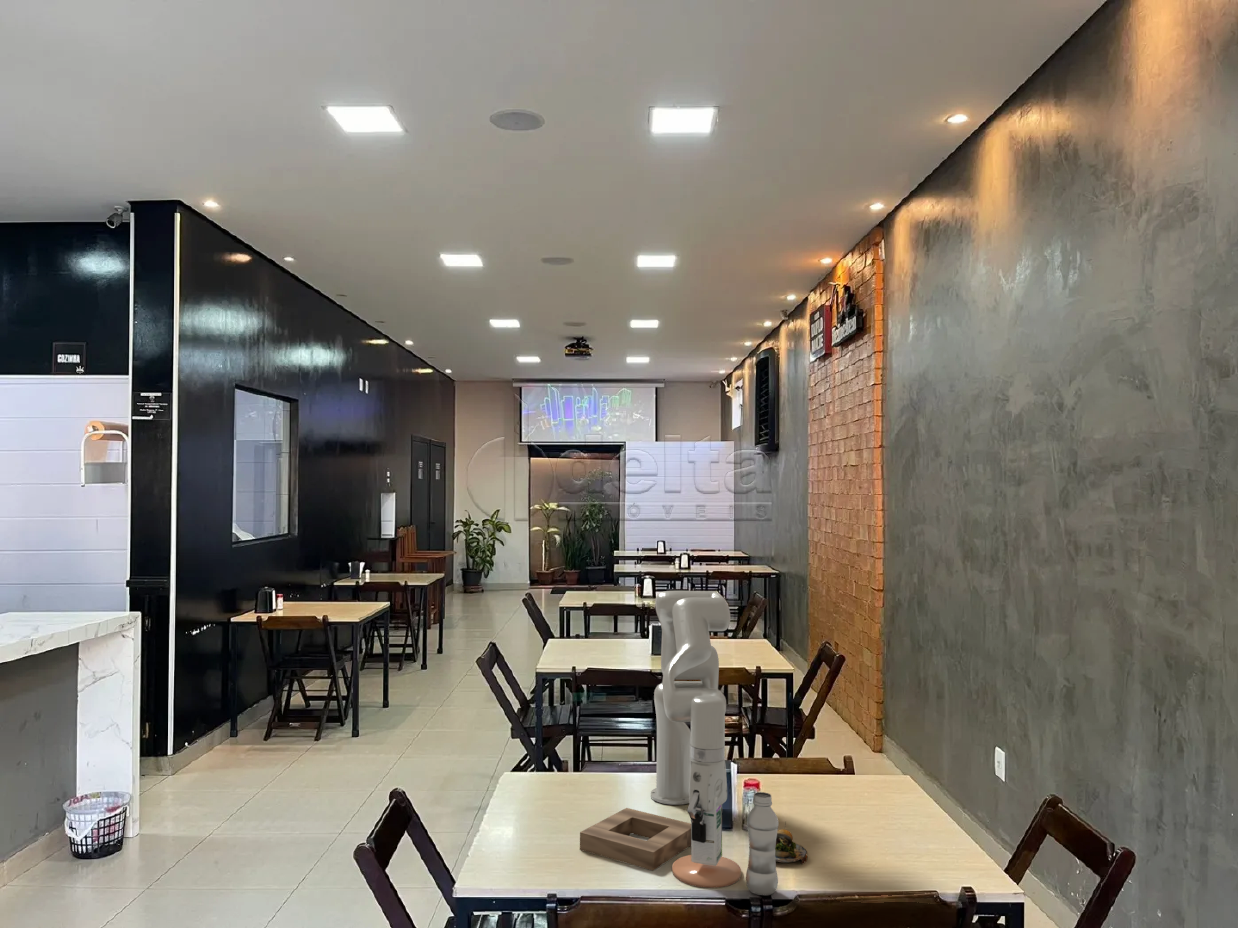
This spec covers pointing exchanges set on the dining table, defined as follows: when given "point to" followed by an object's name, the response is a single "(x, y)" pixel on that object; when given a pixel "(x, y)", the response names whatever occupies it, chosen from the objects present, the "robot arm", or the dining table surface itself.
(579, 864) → the dining table surface
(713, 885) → the plate
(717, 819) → the syrup box
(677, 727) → the robot arm
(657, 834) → the holder
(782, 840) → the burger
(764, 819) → the plastic bottle
